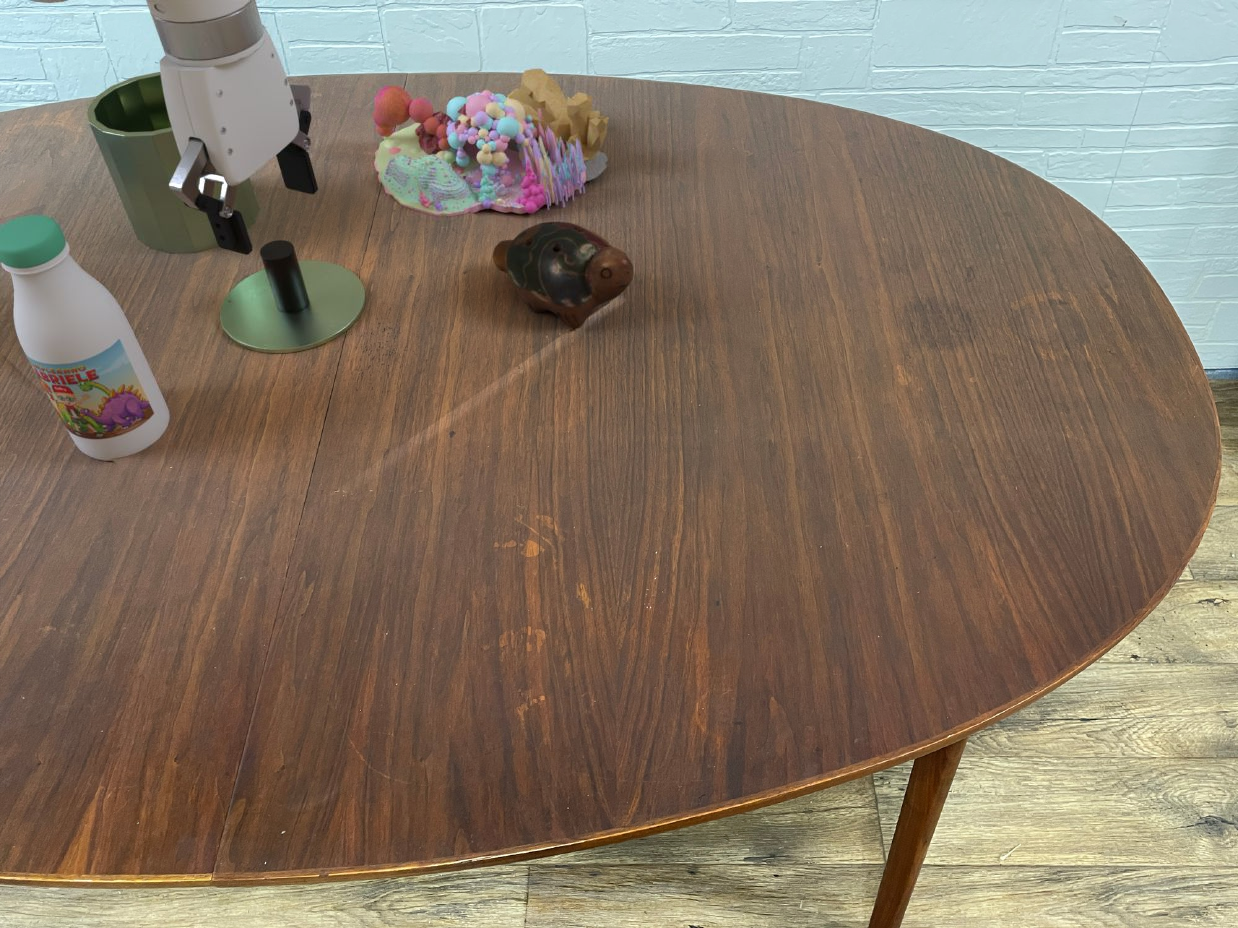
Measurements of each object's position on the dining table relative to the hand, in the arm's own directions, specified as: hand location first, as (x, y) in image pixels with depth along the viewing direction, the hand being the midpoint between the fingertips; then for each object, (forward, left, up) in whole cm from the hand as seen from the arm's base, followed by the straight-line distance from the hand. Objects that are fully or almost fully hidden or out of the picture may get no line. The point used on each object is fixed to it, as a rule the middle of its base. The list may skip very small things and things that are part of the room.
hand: (270, 219), depth 91 cm
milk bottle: (-19, -2, -11) cm, 22 cm away
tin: (+2, +20, -10) cm, 23 cm away
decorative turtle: (+18, -18, -11) cm, 27 cm away
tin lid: (0, 0, -10) cm, 10 cm away
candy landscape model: (+30, +5, -11) cm, 32 cm away
